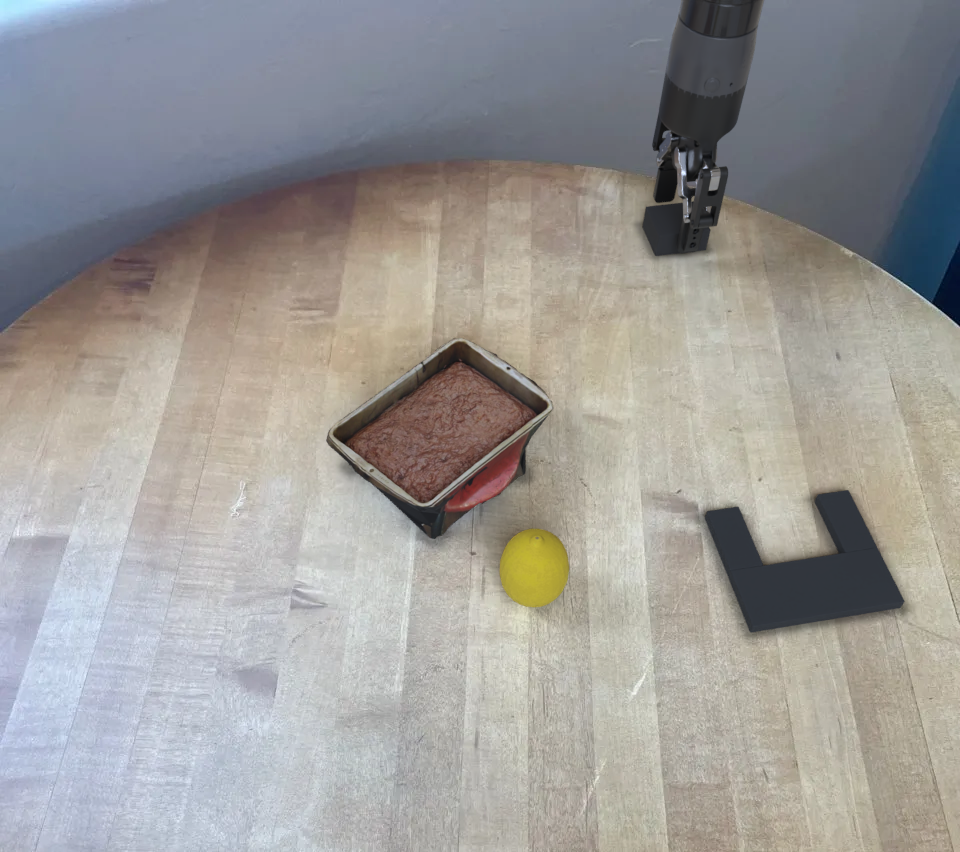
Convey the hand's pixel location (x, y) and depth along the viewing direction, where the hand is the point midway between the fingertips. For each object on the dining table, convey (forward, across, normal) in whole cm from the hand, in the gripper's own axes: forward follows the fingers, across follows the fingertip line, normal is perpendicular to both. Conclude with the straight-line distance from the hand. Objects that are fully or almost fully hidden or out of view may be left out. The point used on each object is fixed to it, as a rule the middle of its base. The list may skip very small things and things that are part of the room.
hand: (674, 224), depth 105 cm
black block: (+2, 0, 0) cm, 2 cm away
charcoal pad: (+2, -43, +2) cm, 43 cm away
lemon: (+2, -42, +25) cm, 49 cm away
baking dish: (+3, -27, +30) cm, 40 cm away
